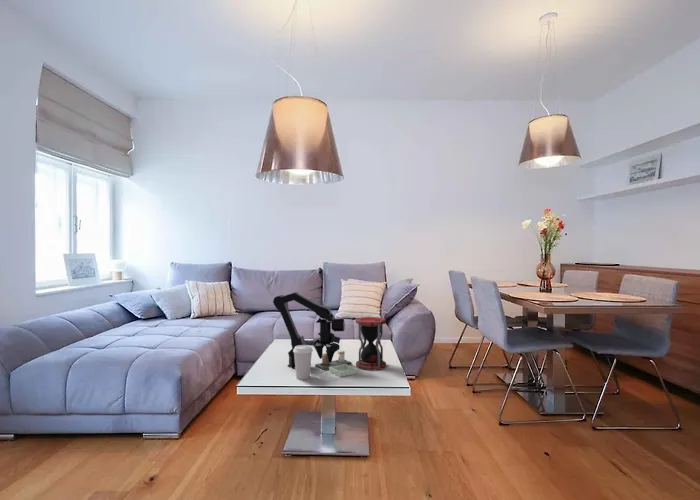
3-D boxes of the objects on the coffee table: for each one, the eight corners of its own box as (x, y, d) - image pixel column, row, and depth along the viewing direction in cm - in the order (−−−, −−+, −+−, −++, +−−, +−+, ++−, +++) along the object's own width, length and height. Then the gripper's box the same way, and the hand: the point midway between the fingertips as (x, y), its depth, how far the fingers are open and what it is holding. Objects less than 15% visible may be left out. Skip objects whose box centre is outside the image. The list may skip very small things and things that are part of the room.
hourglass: (367, 372, 209) (366, 323, 209) (350, 364, 223) (349, 318, 222) (392, 367, 217) (392, 319, 217) (374, 360, 231) (374, 315, 231)
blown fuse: (324, 368, 215) (324, 355, 215) (320, 367, 218) (320, 354, 218) (330, 367, 217) (330, 354, 217) (326, 366, 220) (326, 353, 220)
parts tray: (340, 377, 201) (340, 371, 201) (328, 372, 209) (328, 367, 209) (356, 373, 207) (356, 368, 207) (345, 368, 215) (345, 363, 215)
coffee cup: (296, 381, 194) (296, 350, 194) (290, 376, 203) (290, 345, 203) (315, 379, 198) (315, 348, 198) (309, 373, 207) (309, 343, 207)
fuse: (340, 365, 221) (340, 352, 221) (336, 364, 224) (336, 351, 224) (346, 364, 223) (345, 351, 223) (342, 362, 226) (342, 350, 226)
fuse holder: (323, 370, 212) (323, 367, 212) (315, 366, 218) (315, 364, 218) (351, 364, 222) (351, 362, 222) (343, 361, 229) (343, 358, 229)
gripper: (348, 332, 215) (348, 362, 215) (328, 326, 230) (328, 354, 230) (330, 334, 208) (330, 365, 208) (311, 328, 223) (311, 357, 223)
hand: (325, 360), depth 218 cm, fingers open, 9 cm apart
